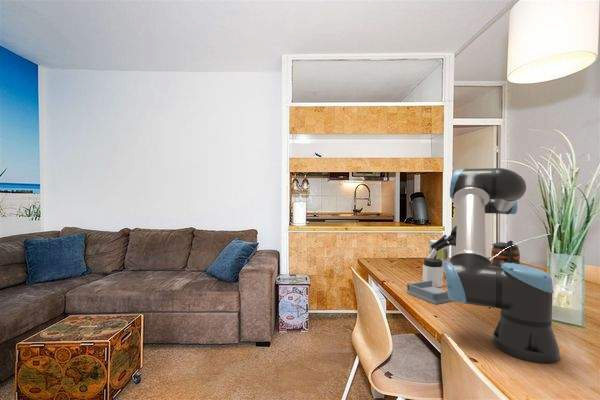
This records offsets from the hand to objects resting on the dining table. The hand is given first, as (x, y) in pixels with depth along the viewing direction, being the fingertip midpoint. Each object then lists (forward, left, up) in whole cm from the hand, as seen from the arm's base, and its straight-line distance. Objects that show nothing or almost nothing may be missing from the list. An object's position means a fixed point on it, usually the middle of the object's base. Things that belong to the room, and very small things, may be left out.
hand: (440, 263), depth 149 cm
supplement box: (+17, -19, -10) cm, 28 cm away
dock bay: (-12, +19, -10) cm, 24 cm away
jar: (-1, +6, -10) cm, 12 cm away
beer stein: (-6, -43, -10) cm, 45 cm away
